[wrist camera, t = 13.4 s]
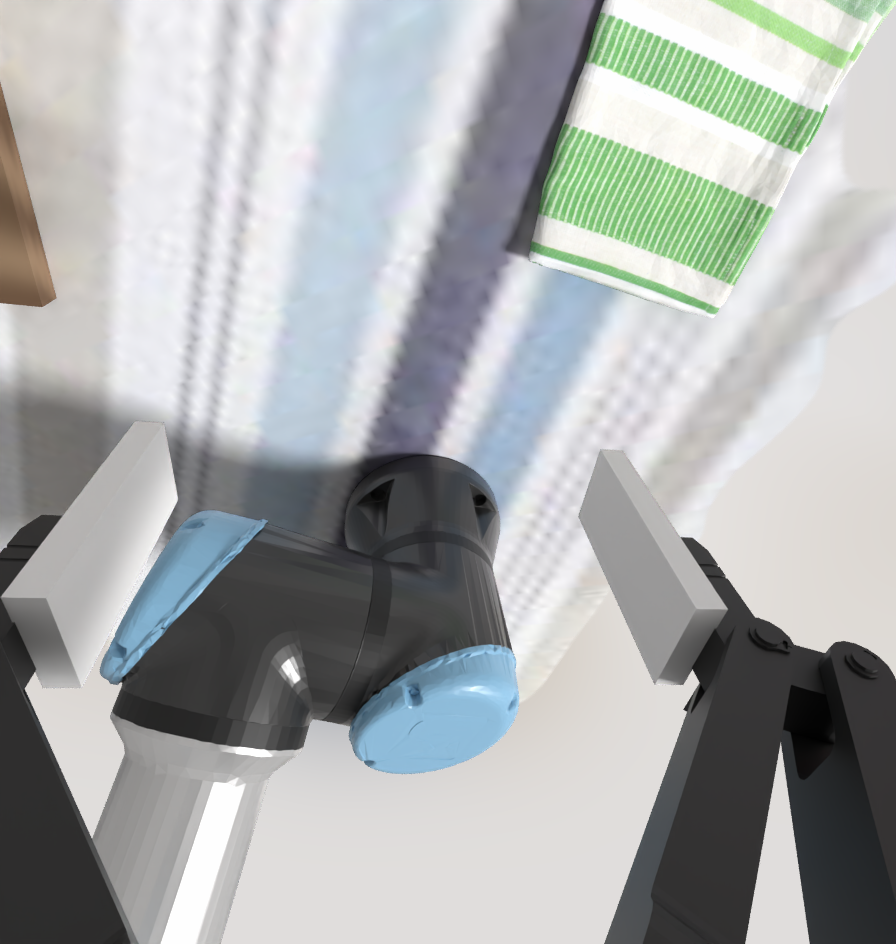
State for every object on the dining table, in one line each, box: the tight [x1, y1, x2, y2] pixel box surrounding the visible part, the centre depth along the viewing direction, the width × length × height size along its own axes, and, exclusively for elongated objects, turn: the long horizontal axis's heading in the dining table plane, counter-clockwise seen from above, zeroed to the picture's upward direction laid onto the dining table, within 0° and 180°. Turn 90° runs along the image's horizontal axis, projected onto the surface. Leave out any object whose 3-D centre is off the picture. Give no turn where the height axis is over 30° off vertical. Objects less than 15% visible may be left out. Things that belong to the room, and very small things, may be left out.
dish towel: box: [529, 0, 896, 318], centre depth 37 cm, size 18×23×3 cm
